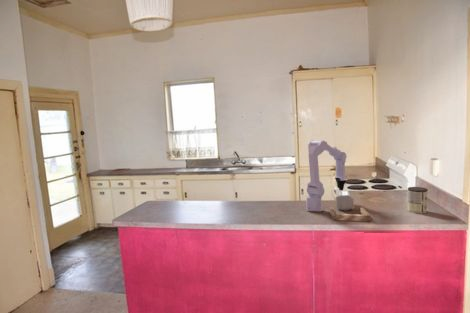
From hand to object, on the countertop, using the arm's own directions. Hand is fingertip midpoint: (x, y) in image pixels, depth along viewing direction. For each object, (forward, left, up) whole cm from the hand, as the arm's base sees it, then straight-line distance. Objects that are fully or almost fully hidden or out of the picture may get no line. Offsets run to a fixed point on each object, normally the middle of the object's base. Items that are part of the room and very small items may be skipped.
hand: (340, 189), depth 214 cm
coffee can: (+42, -18, -10) cm, 46 cm away
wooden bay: (0, -31, -10) cm, 32 cm away
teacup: (0, -15, -10) cm, 18 cm away
